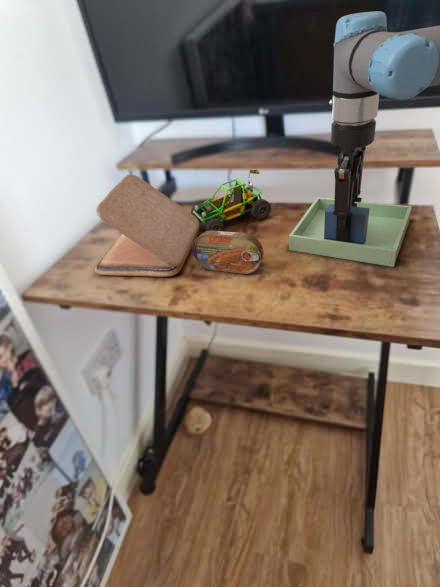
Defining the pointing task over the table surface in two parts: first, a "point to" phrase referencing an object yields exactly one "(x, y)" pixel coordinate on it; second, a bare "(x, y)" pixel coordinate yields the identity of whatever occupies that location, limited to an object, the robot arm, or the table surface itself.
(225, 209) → the motor vehicle
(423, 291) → the table surface
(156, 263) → the case
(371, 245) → the tray
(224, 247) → the tin
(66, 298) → the table surface
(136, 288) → the table surface
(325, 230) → the eraser
